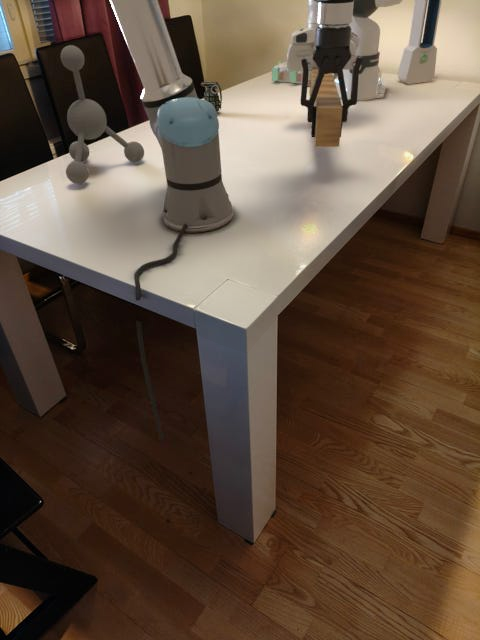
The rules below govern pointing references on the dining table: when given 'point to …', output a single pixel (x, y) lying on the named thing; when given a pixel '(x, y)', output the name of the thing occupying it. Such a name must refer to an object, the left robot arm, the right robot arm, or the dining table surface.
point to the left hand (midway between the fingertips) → (325, 135)
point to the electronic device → (421, 44)
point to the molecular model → (88, 122)
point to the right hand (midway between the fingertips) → (319, 86)
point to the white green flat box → (286, 74)
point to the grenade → (213, 94)
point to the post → (327, 111)
